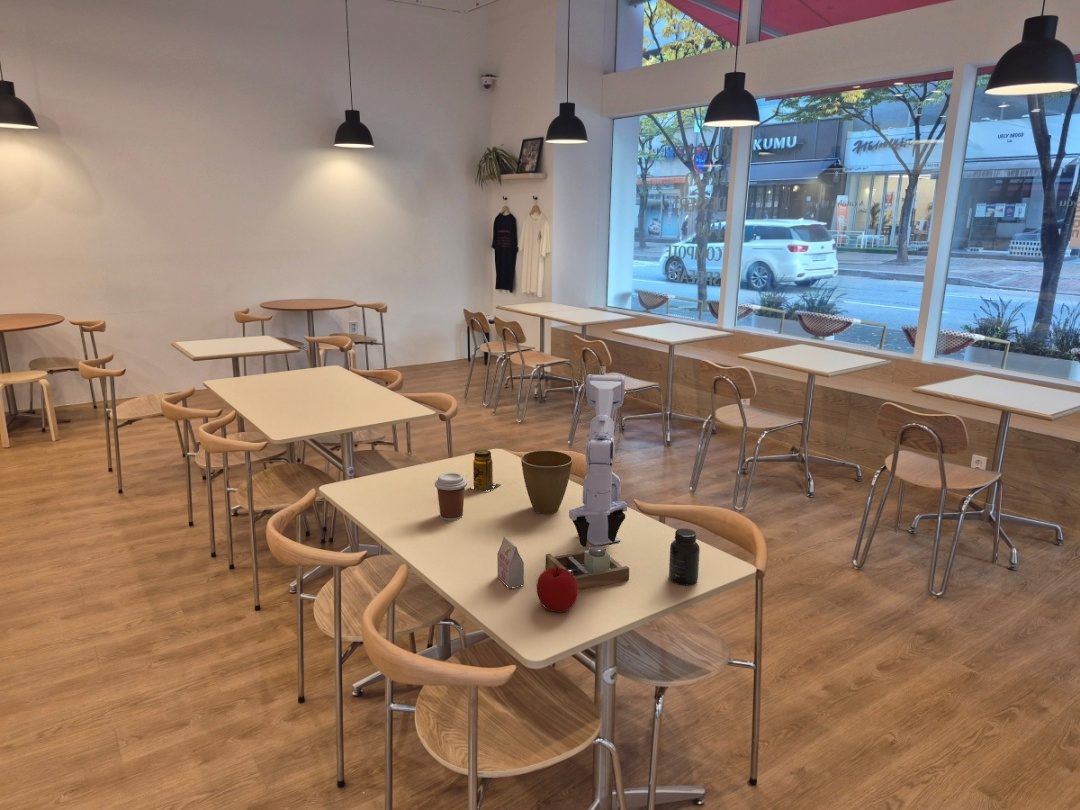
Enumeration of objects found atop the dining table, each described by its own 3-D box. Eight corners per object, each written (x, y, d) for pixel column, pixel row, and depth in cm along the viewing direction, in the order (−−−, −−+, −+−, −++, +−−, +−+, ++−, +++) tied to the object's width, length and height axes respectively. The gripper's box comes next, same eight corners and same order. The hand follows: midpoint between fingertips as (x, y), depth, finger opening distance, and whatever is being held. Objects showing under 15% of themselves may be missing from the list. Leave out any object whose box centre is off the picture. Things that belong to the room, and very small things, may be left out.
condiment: (468, 489, 231) (467, 452, 228) (482, 481, 238) (482, 445, 235) (487, 493, 228) (487, 456, 225) (501, 484, 235) (501, 449, 232)
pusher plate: (553, 571, 177) (553, 559, 176) (571, 567, 179) (571, 556, 178) (570, 588, 168) (570, 576, 168) (589, 584, 170) (589, 572, 170)
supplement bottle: (677, 569, 178) (680, 523, 175) (702, 578, 174) (706, 531, 171) (662, 579, 173) (665, 532, 170) (688, 589, 169) (691, 540, 166)
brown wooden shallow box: (545, 569, 177) (545, 554, 176) (603, 558, 184) (603, 543, 183) (567, 592, 166) (568, 576, 165) (628, 579, 173) (629, 564, 172)
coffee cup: (451, 525, 203) (451, 484, 200) (428, 517, 208) (427, 477, 205) (474, 515, 210) (473, 475, 207) (451, 507, 215) (450, 469, 213)
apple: (586, 606, 161) (587, 564, 158) (559, 622, 154) (560, 579, 152) (554, 592, 166) (555, 552, 164) (527, 607, 160) (527, 565, 157)
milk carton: (511, 573, 175) (511, 535, 173) (523, 586, 169) (523, 546, 167) (497, 576, 174) (497, 537, 171) (509, 589, 168) (508, 549, 165)
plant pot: (510, 508, 215) (510, 456, 211) (547, 496, 225) (548, 447, 221) (544, 523, 204) (544, 469, 201) (582, 510, 214) (583, 458, 210)
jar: (584, 570, 177) (584, 547, 176) (600, 567, 179) (600, 544, 178) (592, 578, 173) (593, 555, 172) (609, 575, 175) (610, 552, 174)
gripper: (579, 499, 165) (577, 554, 168) (634, 490, 170) (632, 544, 174) (565, 489, 171) (564, 542, 174) (619, 480, 177) (617, 532, 180)
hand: (597, 542), depth 174 cm, fingers open, 7 cm apart
